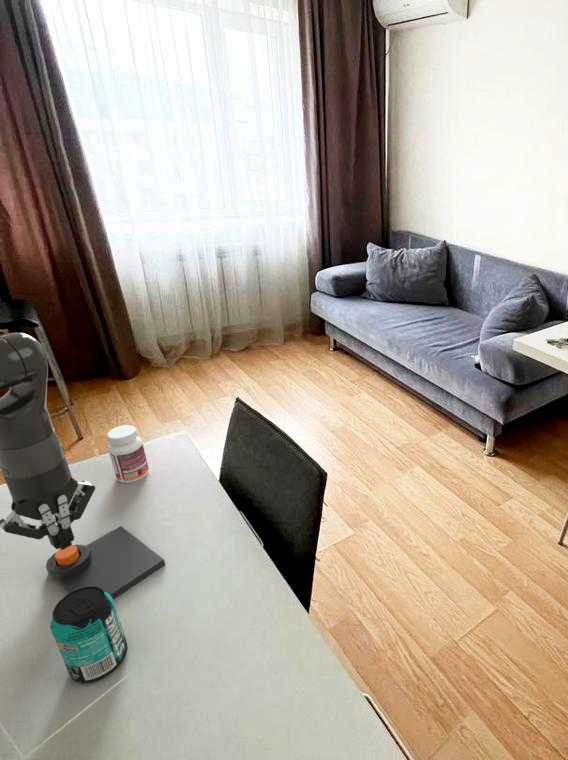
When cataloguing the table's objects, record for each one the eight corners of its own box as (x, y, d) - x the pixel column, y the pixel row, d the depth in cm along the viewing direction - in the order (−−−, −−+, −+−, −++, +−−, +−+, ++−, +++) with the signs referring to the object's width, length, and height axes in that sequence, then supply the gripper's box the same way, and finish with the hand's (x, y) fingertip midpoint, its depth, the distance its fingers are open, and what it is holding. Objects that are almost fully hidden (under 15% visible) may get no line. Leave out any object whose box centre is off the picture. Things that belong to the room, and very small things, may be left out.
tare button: (54, 561, 83) (51, 553, 82) (74, 549, 85) (71, 542, 85) (62, 569, 82) (60, 561, 81) (82, 557, 84) (80, 550, 83)
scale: (44, 574, 84) (39, 561, 82) (121, 530, 94) (117, 518, 92) (87, 617, 77) (83, 603, 76) (165, 565, 87) (162, 552, 86)
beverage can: (108, 631, 75) (89, 574, 70) (139, 651, 73) (122, 594, 68) (59, 672, 69) (34, 613, 64) (90, 695, 67) (67, 636, 62)
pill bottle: (155, 468, 110) (145, 426, 106) (134, 486, 105) (123, 441, 100) (131, 464, 111) (120, 421, 106) (109, 481, 106) (96, 437, 101)
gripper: (70, 433, 82) (95, 513, 89) (-33, 474, 72) (5, 561, 79) (93, 449, 79) (118, 531, 86) (-11, 494, 68) (27, 583, 75)
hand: (64, 545), depth 82 cm, fingers closed
